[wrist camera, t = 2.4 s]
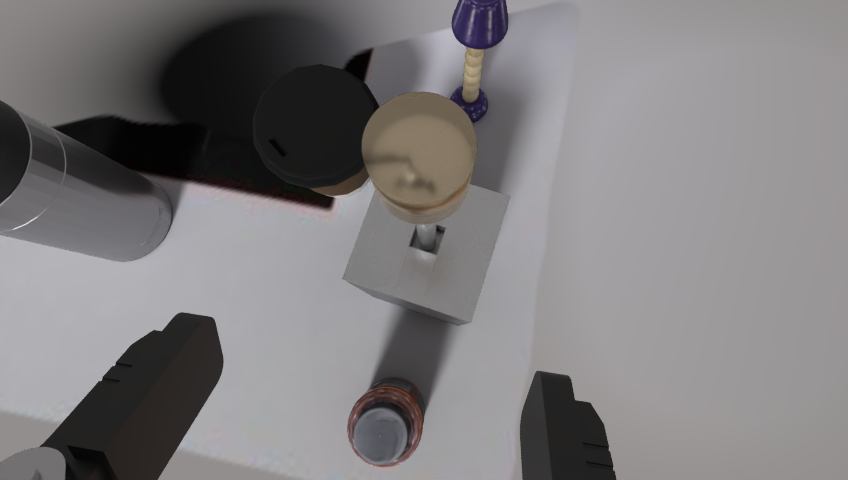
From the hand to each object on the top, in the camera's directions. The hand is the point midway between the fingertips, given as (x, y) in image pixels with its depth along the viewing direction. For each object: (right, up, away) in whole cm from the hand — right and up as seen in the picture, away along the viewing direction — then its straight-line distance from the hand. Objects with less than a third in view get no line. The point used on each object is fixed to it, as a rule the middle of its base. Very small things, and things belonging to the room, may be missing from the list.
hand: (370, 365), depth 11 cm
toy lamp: (+6, +18, +39) cm, 43 cm away
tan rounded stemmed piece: (+2, +3, +22) cm, 22 cm away
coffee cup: (-7, +11, +38) cm, 40 cm away
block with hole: (+2, 0, +35) cm, 35 cm away
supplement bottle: (-2, -13, +33) cm, 35 cm away
